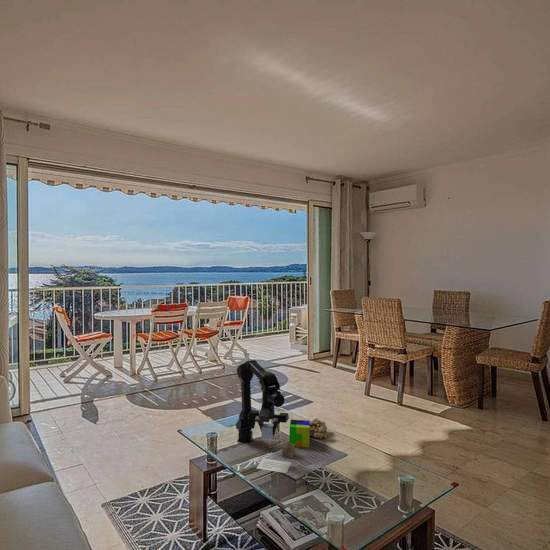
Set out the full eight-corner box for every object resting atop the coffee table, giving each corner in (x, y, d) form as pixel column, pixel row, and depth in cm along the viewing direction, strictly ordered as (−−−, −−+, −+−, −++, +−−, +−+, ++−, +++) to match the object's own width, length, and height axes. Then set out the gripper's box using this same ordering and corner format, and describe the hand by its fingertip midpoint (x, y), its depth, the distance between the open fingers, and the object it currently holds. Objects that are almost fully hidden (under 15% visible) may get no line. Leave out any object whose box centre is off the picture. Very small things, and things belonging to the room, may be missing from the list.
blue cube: (261, 437, 189) (261, 427, 189) (264, 434, 193) (264, 423, 194) (271, 439, 187) (271, 428, 187) (274, 435, 192) (274, 424, 192)
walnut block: (282, 457, 194) (282, 447, 194) (284, 452, 199) (284, 442, 199) (292, 458, 193) (292, 448, 193) (294, 454, 198) (294, 444, 198)
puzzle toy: (309, 439, 215) (309, 420, 215) (308, 447, 205) (309, 428, 205) (290, 438, 216) (290, 419, 216) (289, 446, 206) (289, 426, 206)
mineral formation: (299, 436, 218) (311, 425, 231) (321, 446, 212) (332, 434, 225) (301, 422, 217) (313, 412, 230) (324, 432, 210) (335, 421, 223)
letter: (256, 468, 182) (256, 468, 182) (262, 458, 192) (262, 458, 192) (286, 473, 179) (286, 473, 179) (291, 463, 188) (291, 462, 188)
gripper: (243, 404, 185) (243, 438, 185) (283, 408, 180) (283, 443, 180) (251, 397, 196) (251, 430, 196) (289, 400, 191) (289, 434, 191)
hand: (268, 434), depth 190 cm, fingers closed on blue cube, 5 cm apart
